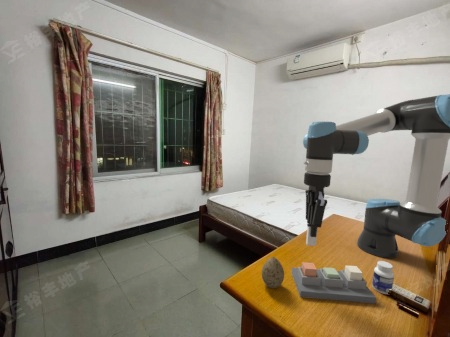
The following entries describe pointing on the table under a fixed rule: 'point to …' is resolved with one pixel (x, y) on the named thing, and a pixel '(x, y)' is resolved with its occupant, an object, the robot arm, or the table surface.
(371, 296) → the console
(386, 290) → the pill bottle
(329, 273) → the sage button
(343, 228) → the table surface
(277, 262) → the decorative egg
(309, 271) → the terracotta button
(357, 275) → the cream button
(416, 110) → the robot arm
